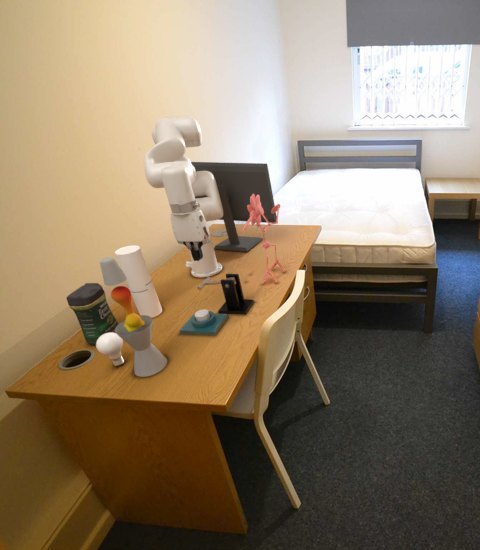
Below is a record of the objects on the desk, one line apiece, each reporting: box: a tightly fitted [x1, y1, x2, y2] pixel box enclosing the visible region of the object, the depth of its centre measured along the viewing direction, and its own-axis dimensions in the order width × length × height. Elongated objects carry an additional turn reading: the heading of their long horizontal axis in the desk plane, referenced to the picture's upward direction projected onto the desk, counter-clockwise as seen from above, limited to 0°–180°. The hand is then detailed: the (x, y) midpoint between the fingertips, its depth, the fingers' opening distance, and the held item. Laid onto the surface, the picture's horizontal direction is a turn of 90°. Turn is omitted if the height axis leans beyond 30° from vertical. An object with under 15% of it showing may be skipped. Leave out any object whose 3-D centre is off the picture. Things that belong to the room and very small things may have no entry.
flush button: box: [194, 308, 210, 322], centre depth 121 cm, size 4×4×2 cm
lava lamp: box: [99, 256, 168, 378], centre depth 98 cm, size 9×9×35 cm
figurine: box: [241, 194, 286, 285], centre depth 144 cm, size 15×26×35 cm, turn 171°
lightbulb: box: [95, 332, 125, 367], centre depth 105 cm, size 6×6×11 cm
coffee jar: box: [66, 282, 119, 346], centre depth 115 cm, size 10×8×19 cm
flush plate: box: [179, 310, 229, 336], centre depth 122 cm, size 12×10×4 cm
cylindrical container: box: [114, 244, 163, 319], centre depth 125 cm, size 7×7×25 cm
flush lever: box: [197, 276, 237, 291], centre depth 127 cm, size 12×7×2 cm, turn 84°
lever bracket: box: [217, 273, 255, 316], centre depth 129 cm, size 10×8×13 cm
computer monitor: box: [191, 161, 279, 253], centre depth 172 cm, size 44×16×40 cm, turn 77°
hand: (198, 259), depth 123 cm, fingers closed
